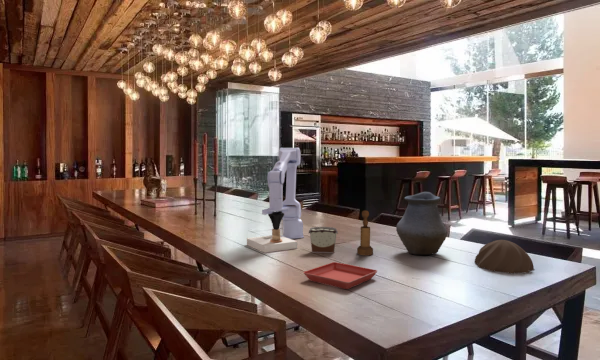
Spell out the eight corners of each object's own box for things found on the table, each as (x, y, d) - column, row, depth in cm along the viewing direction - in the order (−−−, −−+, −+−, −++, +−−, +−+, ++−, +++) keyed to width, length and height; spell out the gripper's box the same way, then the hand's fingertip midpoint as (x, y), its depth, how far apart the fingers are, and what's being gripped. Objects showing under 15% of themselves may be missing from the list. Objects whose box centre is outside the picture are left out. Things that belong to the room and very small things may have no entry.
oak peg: (276, 245, 191) (276, 227, 190) (284, 247, 187) (284, 229, 186) (267, 247, 187) (267, 229, 186) (276, 249, 183) (275, 230, 183)
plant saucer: (334, 270, 154) (334, 261, 154) (378, 279, 142) (378, 269, 142) (302, 282, 140) (302, 272, 140) (348, 293, 129) (348, 282, 128)
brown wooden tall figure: (372, 255, 173) (373, 211, 172) (356, 255, 174) (356, 211, 173) (373, 252, 180) (373, 209, 178) (357, 251, 181) (358, 209, 180)
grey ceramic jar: (389, 255, 174) (390, 194, 172) (403, 245, 193) (404, 190, 191) (442, 261, 164) (443, 196, 162) (451, 250, 183) (452, 192, 182)
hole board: (278, 240, 203) (278, 234, 202) (297, 248, 187) (297, 241, 187) (246, 244, 194) (246, 238, 194) (264, 252, 179) (264, 245, 179)
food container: (338, 249, 185) (338, 226, 184) (337, 252, 178) (337, 229, 178) (309, 249, 186) (309, 226, 185) (308, 252, 180) (308, 228, 179)
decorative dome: (506, 276, 145) (507, 247, 144) (463, 262, 163) (463, 236, 163) (546, 270, 152) (547, 242, 152) (500, 257, 171) (501, 233, 170)
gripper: (281, 196, 193) (281, 226, 194) (257, 198, 183) (257, 230, 184) (292, 197, 189) (292, 228, 189) (268, 200, 178) (268, 232, 179)
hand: (276, 229), depth 186 cm, fingers closed, pressing on oak peg
